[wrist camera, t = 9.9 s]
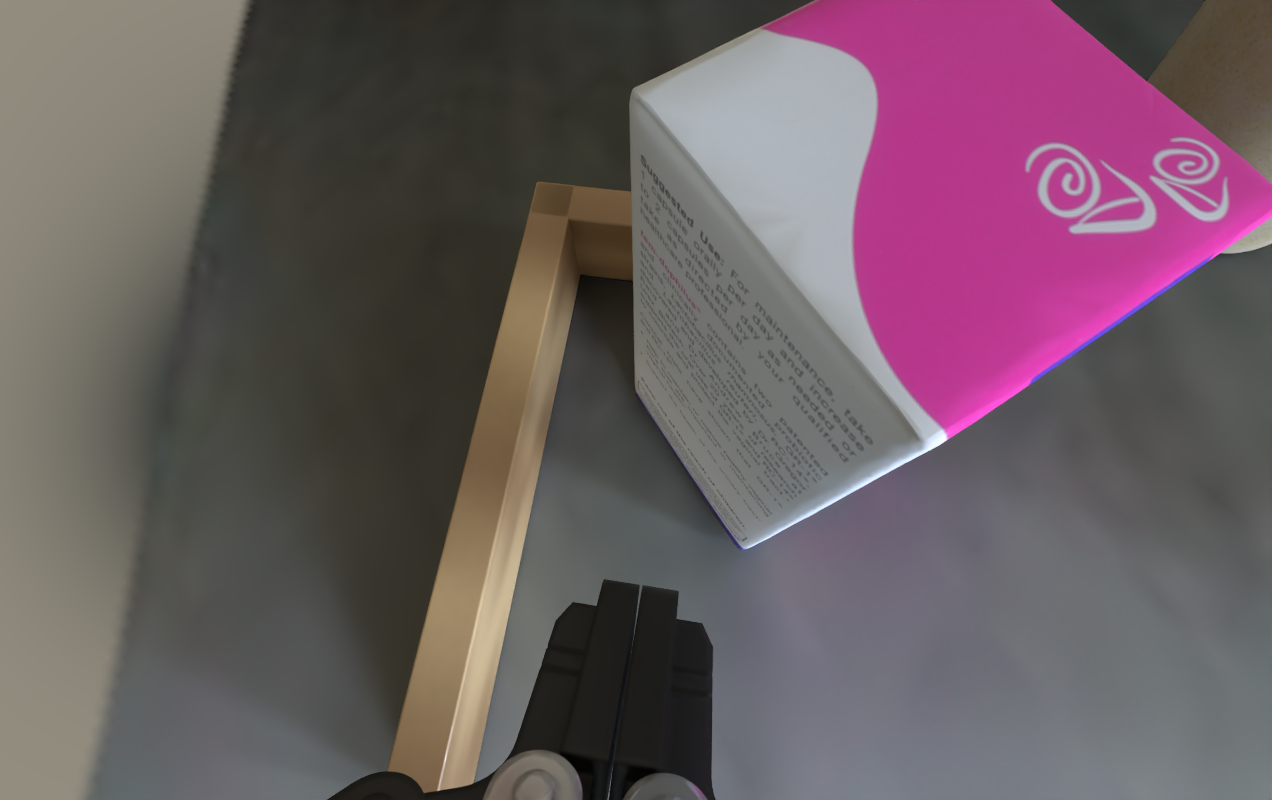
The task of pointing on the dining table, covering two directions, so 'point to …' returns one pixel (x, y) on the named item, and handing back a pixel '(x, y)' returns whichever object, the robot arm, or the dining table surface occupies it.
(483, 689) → the corner fence
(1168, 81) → the flower pot
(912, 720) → the dining table surface
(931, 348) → the supplement box
